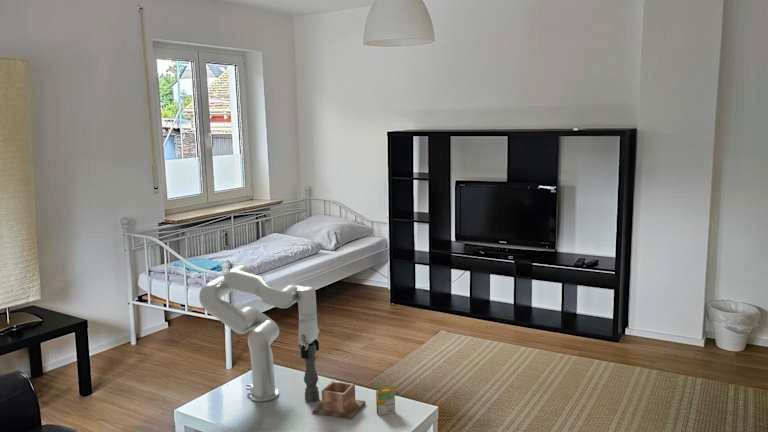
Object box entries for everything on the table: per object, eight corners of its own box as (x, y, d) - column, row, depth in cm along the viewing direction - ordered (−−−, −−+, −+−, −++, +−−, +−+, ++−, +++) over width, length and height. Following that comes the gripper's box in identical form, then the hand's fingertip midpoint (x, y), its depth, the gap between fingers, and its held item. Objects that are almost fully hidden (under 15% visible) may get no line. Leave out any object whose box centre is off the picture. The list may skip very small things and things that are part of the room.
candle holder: (316, 403, 271) (313, 347, 267) (303, 402, 272) (299, 346, 268) (321, 396, 277) (318, 342, 273) (307, 395, 278) (304, 341, 274)
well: (312, 413, 262) (311, 391, 260) (327, 398, 275) (326, 378, 273) (352, 419, 255) (351, 397, 254) (365, 404, 268) (364, 383, 267)
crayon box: (393, 410, 263) (392, 383, 261) (395, 413, 260) (394, 386, 258) (376, 412, 261) (375, 386, 259) (378, 416, 258) (377, 389, 256)
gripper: (309, 309, 277) (311, 346, 280) (290, 321, 262) (292, 360, 264) (324, 310, 275) (327, 347, 278) (306, 323, 259) (308, 362, 262)
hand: (310, 354), depth 271 cm, fingers open, 9 cm apart
